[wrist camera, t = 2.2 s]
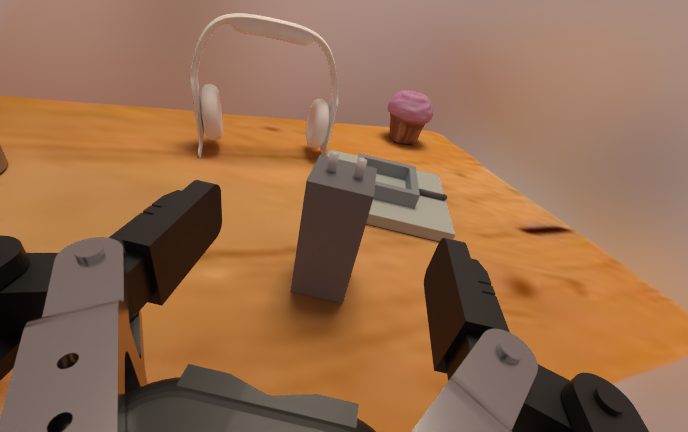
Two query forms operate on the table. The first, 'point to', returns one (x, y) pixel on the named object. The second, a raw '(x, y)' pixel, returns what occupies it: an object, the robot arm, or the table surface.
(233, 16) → the headset
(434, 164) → the table surface
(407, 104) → the cupcake
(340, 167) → the charger block
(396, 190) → the charging dock
